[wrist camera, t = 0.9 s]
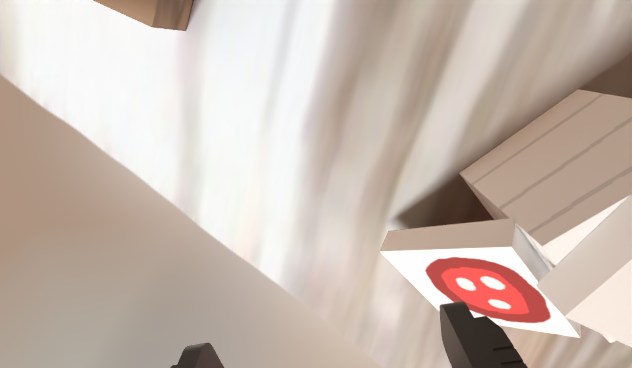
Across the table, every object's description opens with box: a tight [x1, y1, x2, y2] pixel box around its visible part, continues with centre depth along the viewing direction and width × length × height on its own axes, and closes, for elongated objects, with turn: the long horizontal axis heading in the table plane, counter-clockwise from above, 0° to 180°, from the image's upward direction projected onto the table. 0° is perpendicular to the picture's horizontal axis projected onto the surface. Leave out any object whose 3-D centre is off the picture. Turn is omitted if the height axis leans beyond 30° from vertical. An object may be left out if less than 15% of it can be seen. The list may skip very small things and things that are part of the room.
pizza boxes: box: [380, 89, 632, 347], centre depth 31 cm, size 19×30×18 cm, turn 132°
